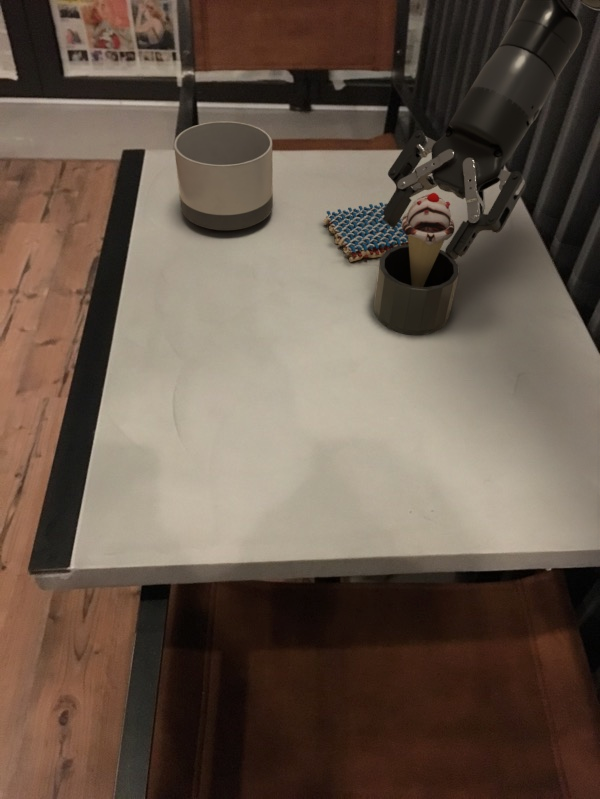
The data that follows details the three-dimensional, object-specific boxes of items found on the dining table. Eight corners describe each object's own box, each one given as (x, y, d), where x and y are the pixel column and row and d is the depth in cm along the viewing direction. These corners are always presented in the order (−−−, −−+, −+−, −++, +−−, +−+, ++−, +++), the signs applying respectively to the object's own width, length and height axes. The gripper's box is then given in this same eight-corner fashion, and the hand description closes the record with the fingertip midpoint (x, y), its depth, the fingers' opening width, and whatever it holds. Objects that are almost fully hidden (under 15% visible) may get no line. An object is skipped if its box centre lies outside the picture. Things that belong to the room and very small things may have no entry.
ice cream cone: (404, 326, 80) (424, 211, 69) (380, 298, 83) (396, 184, 72) (446, 314, 81) (471, 200, 71) (421, 287, 85) (442, 175, 74)
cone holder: (458, 302, 84) (469, 258, 79) (432, 344, 78) (442, 299, 74) (391, 280, 87) (398, 236, 82) (361, 318, 81) (366, 273, 77)
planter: (183, 241, 92) (175, 168, 84) (180, 193, 101) (172, 123, 93) (278, 235, 93) (278, 163, 86) (267, 188, 102) (266, 119, 95)
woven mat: (349, 265, 89) (350, 252, 87) (321, 223, 96) (321, 210, 94) (421, 252, 91) (424, 239, 90) (389, 212, 98) (390, 199, 97)
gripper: (436, 66, 73) (355, 202, 75) (555, 108, 66) (462, 256, 68) (456, 103, 79) (381, 226, 81) (566, 145, 72) (481, 278, 75)
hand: (418, 240), depth 75 cm, fingers open, 8 cm apart
